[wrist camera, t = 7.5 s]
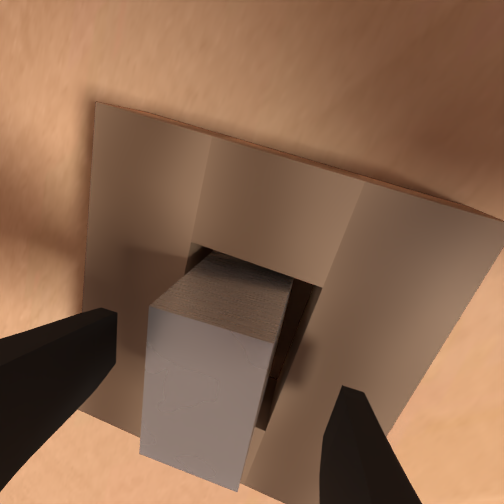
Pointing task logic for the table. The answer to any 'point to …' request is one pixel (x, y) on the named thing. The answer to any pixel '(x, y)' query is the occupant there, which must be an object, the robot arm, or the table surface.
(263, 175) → the well block
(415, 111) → the table surface
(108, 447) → the table surface
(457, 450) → the table surface
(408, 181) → the table surface
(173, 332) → the wedge block
